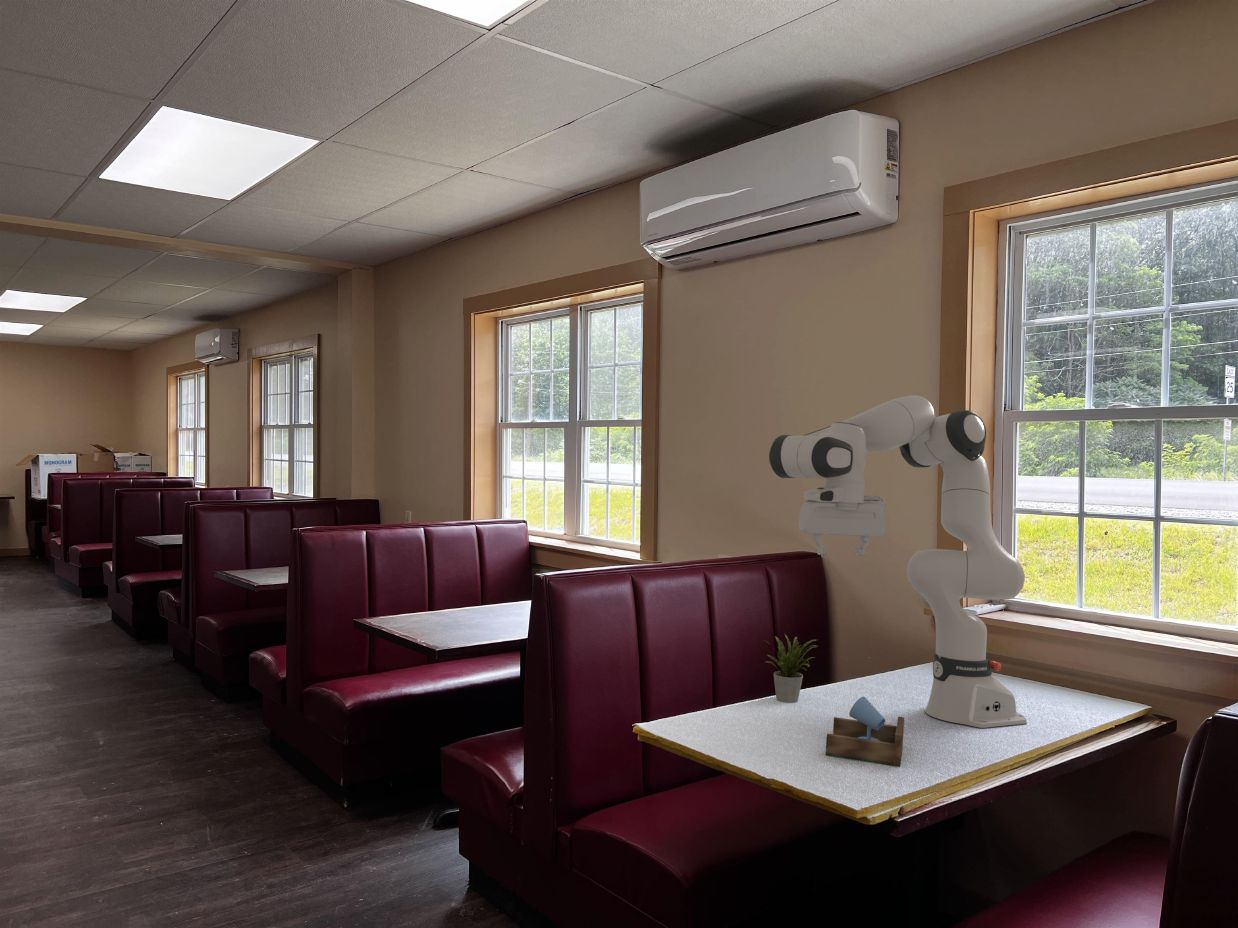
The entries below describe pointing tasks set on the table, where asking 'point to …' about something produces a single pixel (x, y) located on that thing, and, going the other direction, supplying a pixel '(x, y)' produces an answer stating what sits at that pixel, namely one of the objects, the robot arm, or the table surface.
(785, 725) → the table surface
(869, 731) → the spotlight
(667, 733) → the table surface
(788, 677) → the house plant
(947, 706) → the robot arm
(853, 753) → the wooden display tray
